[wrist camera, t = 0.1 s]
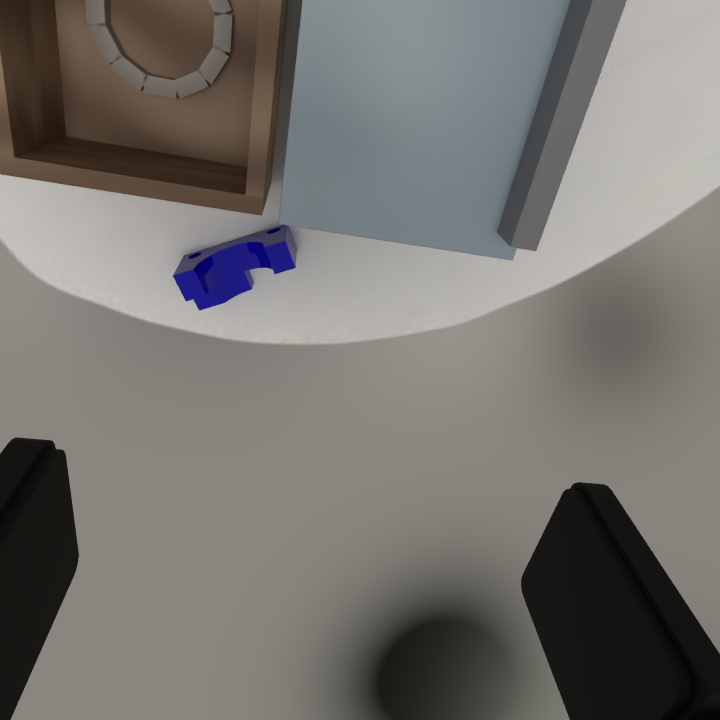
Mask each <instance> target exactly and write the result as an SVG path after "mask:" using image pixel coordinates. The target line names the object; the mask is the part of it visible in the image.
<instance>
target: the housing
mask: <svg viewBox="0 0 720 720" xmlns="http://www.w3.org/2000/svg"><path fill="white" fill-rule="evenodd" d="M287 10H288V0H0V174H2V175H9V176H15V177H21V178H28V179H34V180H40V181H47V182H53V183H59V184H66V185H72V186H78V187H85V188H91V189H97V190H104V191H110V192H116V193H123V194H129V195H135V196H142V197H148V198H154V199H161V200H167V201H173V202H180V203H186V204H192V205H199V206H205V207H211V208H218V209H224V210H230V211H237V212H243V213H249V214H256V215H262V213H263V210H264V206H265V202H266V199H267V195H268V192H269V188H270V184H271V174H272V164H273V154H274V143H275V133H276V123H277V113H278V102H279V92H280V82H281V72H282V61H283V51H284V41H285V31H286V20H287Z"/></svg>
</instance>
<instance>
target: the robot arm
mask: <svg viewBox="0 0 720 720" xmlns="http://www.w3.org/2000/svg"><path fill="white" fill-rule="evenodd" d="M78 557H79V553H78V544H77V537H76V529H75V522H74V514H73V507H72V499H71V491H70V484H69V476H68V469H67V461H66V455H65V452H64V450H58V449H56V448H55V444H54V443H53V441H51V440H39V439H28V438H27V439H26V438H14V439H12V440H11V441H10V442H9V443H8V444H7V446H6V447H5V448H4V450H3V451H2V452H1V454H0V720H11V717H12V715H13V713H14V710H15V708H16V706H17V703H18V701H19V699H20V697H21V695H22V692H23V690H24V688H25V685H26V683H27V681H28V679H29V676H30V674H31V672H32V670H33V667H34V665H35V663H36V660H37V658H38V656H39V654H40V652H41V649H42V647H43V645H44V642H45V640H46V638H47V636H48V633H49V631H50V629H51V627H52V624H53V622H54V620H55V618H56V615H57V613H58V610H59V608H60V606H61V604H62V602H63V599H64V597H65V595H66V592H67V590H68V588H69V586H70V583H71V581H72V579H73V577H74V574H75V572H76V568H77V563H78ZM521 588H522V593H523V597H524V599H525V602H526V605H527V607H528V610H529V612H530V615H531V618H532V620H533V623H534V626H535V628H536V631H537V634H538V636H539V639H540V642H541V644H542V647H543V649H544V652H545V655H546V657H547V660H548V663H549V665H550V668H551V671H552V673H553V676H554V679H555V681H556V684H557V687H558V689H559V692H560V695H561V697H562V700H563V703H564V705H565V708H566V711H567V713H568V716H569V718H570V720H720V654H719V652H718V651H717V649H716V648H715V646H714V645H713V643H712V642H711V640H710V639H709V637H708V636H707V634H706V633H705V631H704V630H703V628H702V627H701V625H700V624H699V622H698V620H697V619H696V617H695V616H694V614H693V613H692V611H691V610H690V609H689V607H688V605H687V604H686V603H685V601H684V599H683V598H682V596H681V595H680V593H679V592H678V590H677V589H676V587H675V586H674V584H673V583H672V581H671V580H670V578H669V577H668V575H667V574H666V572H665V571H664V569H663V567H662V566H661V564H660V563H659V561H658V560H657V558H656V557H655V555H654V554H653V552H652V551H651V549H650V548H649V546H648V545H647V543H646V542H645V540H644V539H643V537H642V536H641V534H640V533H639V531H638V530H637V528H636V526H635V525H634V524H633V522H632V521H631V519H630V517H629V516H628V514H627V513H626V511H625V510H624V509H623V507H622V505H621V504H620V502H619V501H618V499H617V498H616V496H615V495H614V493H613V492H612V490H611V489H610V488H609V487H608V486H606V485H604V484H593V483H580V482H579V483H575V484H573V485H572V487H571V488H570V489H566V490H565V491H564V492H563V494H562V496H561V498H560V500H559V502H558V504H557V506H556V508H555V510H554V512H553V514H552V516H551V518H550V520H549V522H548V524H547V526H546V528H545V530H544V532H543V535H542V537H541V539H540V541H539V543H538V545H537V547H536V549H535V551H534V553H533V555H532V557H531V559H530V561H529V563H528V565H527V567H526V569H525V571H524V573H523V576H522V580H521Z"/></svg>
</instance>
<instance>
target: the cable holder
mask: <svg viewBox="0 0 720 720" xmlns="http://www.w3.org/2000/svg"><path fill="white" fill-rule="evenodd" d="M296 255H297V248H296V245H295V242H294V240H293V237H292V234H291V231H290V229H289V226H288V225H281V226H277V227H274V228H271V229H268V230H265V231H261V232H258V233H255V234H252V235H249V236H245V237H242V238H239V239H236V240H233V241H230V242H226V243H223V244H220V245H217V246H214V247H210V248H207V249H204V250H201V251H198V252H194V253H191V254H188V255H185V256H184V257H183V259H182V260H181V262H180V264H179V266H178V267H177V269H176V271H175V273H174V274H173V277H174V279H175V281H176V283H177V285H178V287H179V289H180V291H181V293H182V295H183V296H184V298H185V300H186V301H189V300H192V299H194V301H195V303H196V305H197V307H198V309H199V310H202V309H206V308H209V307H212V306H216V305H219V304H222V303H225V302H227V301H228V300H229V299H231V298H233V297H235V296H237V295H239V294H241V293H243V292H246V291H248V290H251V289H252V287H253V283H254V282H253V280H252V277H251V275H250V273H249V270H250V269H255V268H270V269H273V271H274V273H275V274H277V273H280V272H283V271H287V270H290V269H293V268H296Z"/></svg>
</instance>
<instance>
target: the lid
mask: <svg viewBox="0 0 720 720" xmlns="http://www.w3.org/2000/svg"><path fill="white" fill-rule="evenodd" d="M626 1H627V0H303V1H302V11H301V20H300V29H299V38H298V47H297V57H296V66H295V75H294V84H293V93H292V103H291V112H290V121H289V130H288V139H287V149H286V158H285V167H284V176H283V186H282V195H281V204H280V213H279V222H278V224H282V225H288V226H295V227H301V228H308V229H314V230H321V231H327V232H333V233H340V234H346V235H353V236H359V237H365V238H372V239H378V240H385V241H391V242H397V243H404V244H410V245H417V246H423V247H429V248H436V249H442V250H449V251H455V252H461V253H468V254H474V255H481V256H487V257H493V258H500V259H506V260H513V258H514V255H515V252H516V249H517V248H520V249H527V250H533V251H536V250H537V247H538V244H539V241H540V239H541V236H542V233H543V230H544V228H545V225H546V222H547V219H548V217H549V214H550V211H551V208H552V205H553V203H554V200H555V197H556V194H557V192H558V189H559V186H560V183H561V181H562V178H563V175H564V172H565V169H566V167H567V164H568V161H569V158H570V156H571V153H572V150H573V147H574V145H575V142H576V139H577V136H578V133H579V131H580V128H581V125H582V122H583V120H584V117H585V114H586V111H587V109H588V106H589V103H590V100H591V97H592V95H593V92H594V89H595V86H596V84H597V81H598V78H599V75H600V73H601V70H602V67H603V64H604V61H605V59H606V56H607V53H608V50H609V48H610V45H611V42H612V39H613V37H614V34H615V31H616V28H617V25H618V23H619V20H620V17H621V14H622V12H623V9H624V6H625V3H626Z"/></svg>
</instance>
